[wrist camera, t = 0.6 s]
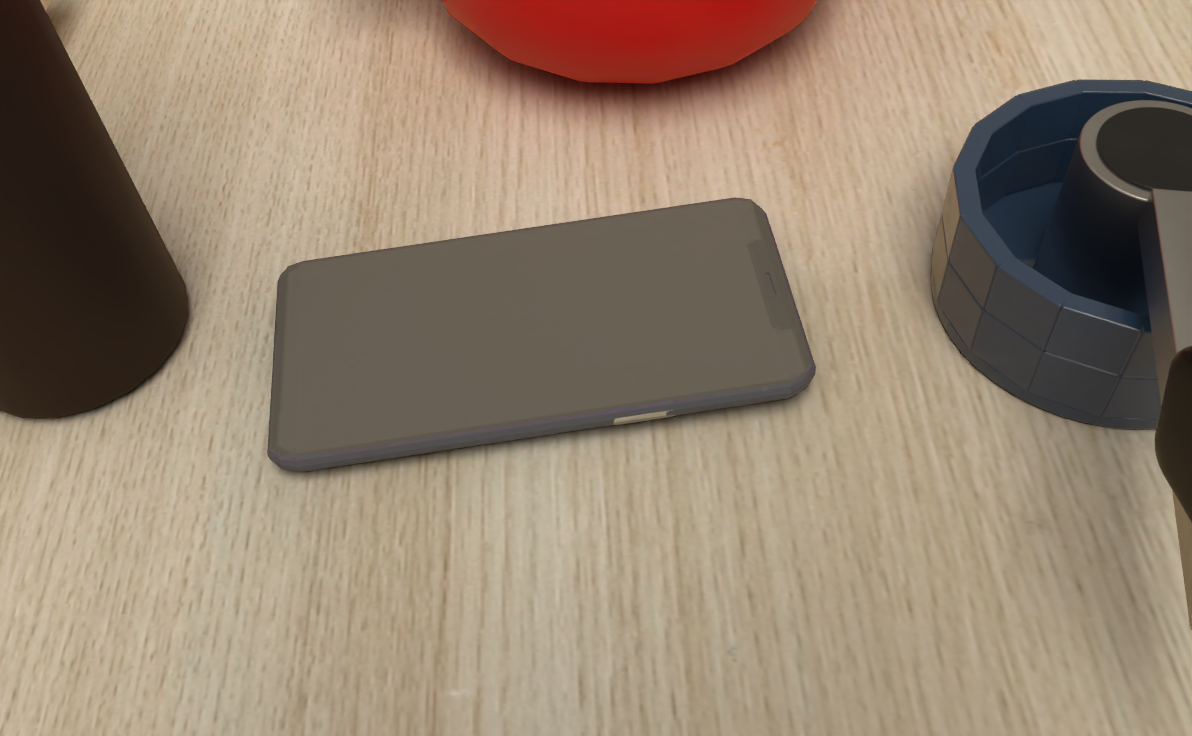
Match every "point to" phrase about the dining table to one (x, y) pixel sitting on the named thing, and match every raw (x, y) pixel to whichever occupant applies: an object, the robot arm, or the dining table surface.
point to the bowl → (1008, 252)
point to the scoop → (1132, 233)
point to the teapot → (628, 34)
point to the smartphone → (531, 334)
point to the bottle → (71, 240)
